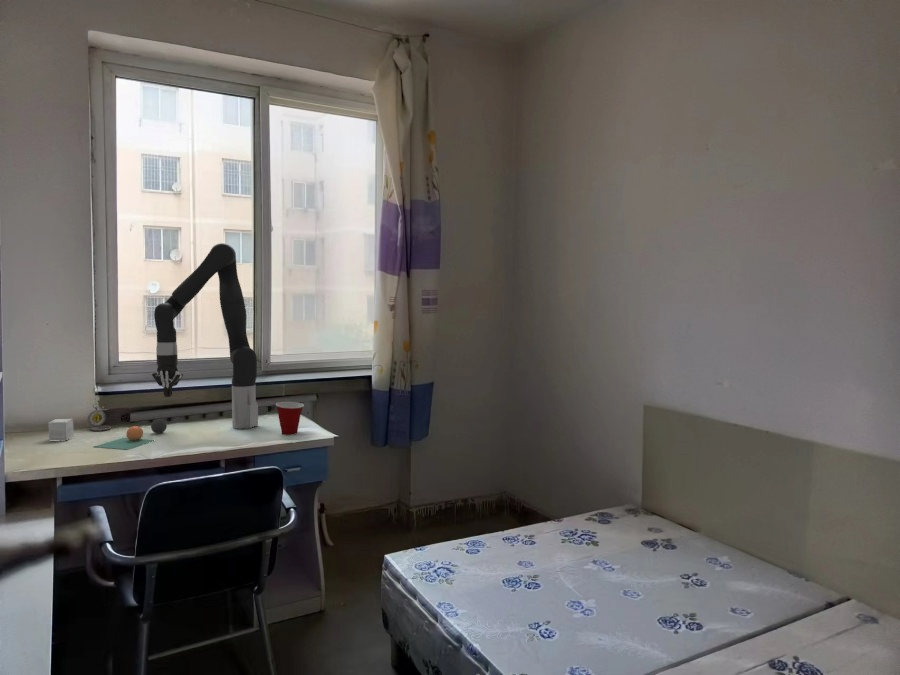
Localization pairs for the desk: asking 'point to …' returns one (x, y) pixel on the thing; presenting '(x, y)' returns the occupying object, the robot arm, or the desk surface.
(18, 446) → the desk surface
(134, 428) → the terracotta ball
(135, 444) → the green mark
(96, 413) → the pocket watch
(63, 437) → the skincare box
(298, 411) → the plastic cup
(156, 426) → the black ball
